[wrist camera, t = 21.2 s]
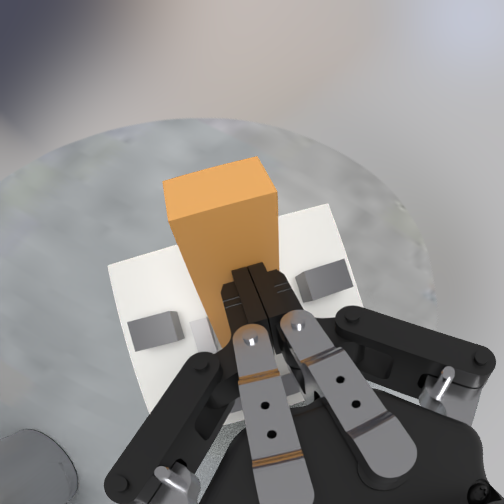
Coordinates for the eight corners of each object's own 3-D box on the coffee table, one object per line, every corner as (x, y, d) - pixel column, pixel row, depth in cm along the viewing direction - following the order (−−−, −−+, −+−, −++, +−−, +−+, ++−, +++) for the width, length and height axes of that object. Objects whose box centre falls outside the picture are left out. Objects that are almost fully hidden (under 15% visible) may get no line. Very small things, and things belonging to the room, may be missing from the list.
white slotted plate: (170, 420, 25) (150, 453, 18) (127, 274, 28) (92, 258, 20) (357, 362, 28) (398, 375, 20) (313, 221, 30) (339, 189, 22)
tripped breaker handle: (224, 352, 21) (168, 221, 11) (215, 322, 23) (162, 181, 12) (280, 335, 22) (277, 191, 11) (269, 307, 23) (257, 156, 13)
